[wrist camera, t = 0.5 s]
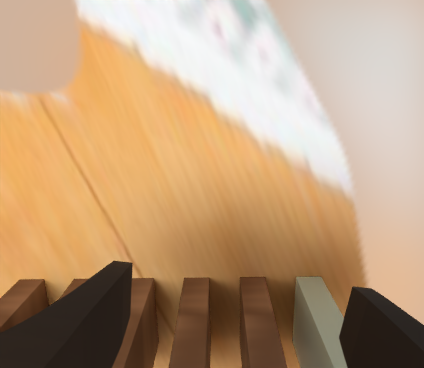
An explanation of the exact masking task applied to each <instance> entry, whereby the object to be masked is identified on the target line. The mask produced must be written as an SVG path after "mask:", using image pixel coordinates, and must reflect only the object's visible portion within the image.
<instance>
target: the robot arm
mask: <svg viewBox="0 0 424 368" xmlns="http://www.w3.org/2000/svg"><path fill="white" fill-rule="evenodd" d="M131 288H132V263H129V262H119V261H113V262H112V263H110V264H109V265H107V266H106V267H105V268H103V269H102V270H101V271H99V272H98V273H96V274H95V275H94V276H92V277H91V278H90V279H88V280H87V281H86V282H84V283H83V284H81V285H80V286H79V287H77V288H76V289H74V290H73V291H72V292H70V293H69V294H67V295H65V296H64V297H62V298H61V299H59V300H58V301H56V302H54V303H53V304H51V305H50V306H48V307H47V308H45V309H44V310H42V311H40V312H39V313H37V314H35V315H33V316H32V317H30V318H28V319H26V320H25V321H23V322H21V323H19V324H17V325H15V326H13V327H11V328H9V329H7V330H5V331H3V332H1V333H0V368H112V366H113V364H114V362H115V359H116V357H117V355H118V352H119V350H120V348H121V345H122V342H123V339H124V336H125V332H126V329H127V326H128V322H129V319H130V314H131ZM339 340H340V344H341V348H342V351H343V355H344V358H345V361H346V365H347V368H424V325H423V324H421V323H420V322H419V321H417V320H416V319H414V318H413V317H412V316H410V315H409V314H407V313H406V312H405V311H403V310H402V309H401V308H399V307H398V306H396V305H395V304H394V303H392V302H391V301H389V300H388V299H387V298H385V297H384V296H382V295H381V294H379V293H378V292H376V291H375V290H373V289H370V288H361V287H352V291H351V295H350V298H349V302H348V306H347V309H346V313H345V317H344V320H343V324H342V328H341V331H340V335H339Z"/></svg>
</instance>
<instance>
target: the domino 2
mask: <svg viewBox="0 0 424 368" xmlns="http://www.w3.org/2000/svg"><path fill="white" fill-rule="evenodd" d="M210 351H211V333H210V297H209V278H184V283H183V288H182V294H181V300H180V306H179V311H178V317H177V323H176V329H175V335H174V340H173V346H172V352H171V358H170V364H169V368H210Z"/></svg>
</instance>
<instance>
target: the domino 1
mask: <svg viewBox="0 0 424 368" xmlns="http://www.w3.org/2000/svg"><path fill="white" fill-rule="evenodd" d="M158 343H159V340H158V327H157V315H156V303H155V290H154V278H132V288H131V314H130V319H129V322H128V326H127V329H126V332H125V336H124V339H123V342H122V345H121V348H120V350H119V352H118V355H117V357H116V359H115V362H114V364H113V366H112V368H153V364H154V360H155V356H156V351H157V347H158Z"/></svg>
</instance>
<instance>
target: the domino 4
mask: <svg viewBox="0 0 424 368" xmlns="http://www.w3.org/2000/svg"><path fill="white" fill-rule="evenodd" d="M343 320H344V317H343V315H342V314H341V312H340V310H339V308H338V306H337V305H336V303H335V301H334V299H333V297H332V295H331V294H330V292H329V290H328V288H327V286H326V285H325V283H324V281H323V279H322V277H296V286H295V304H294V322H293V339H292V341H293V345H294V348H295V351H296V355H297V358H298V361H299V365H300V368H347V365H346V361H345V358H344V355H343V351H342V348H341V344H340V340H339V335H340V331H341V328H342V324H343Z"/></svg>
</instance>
